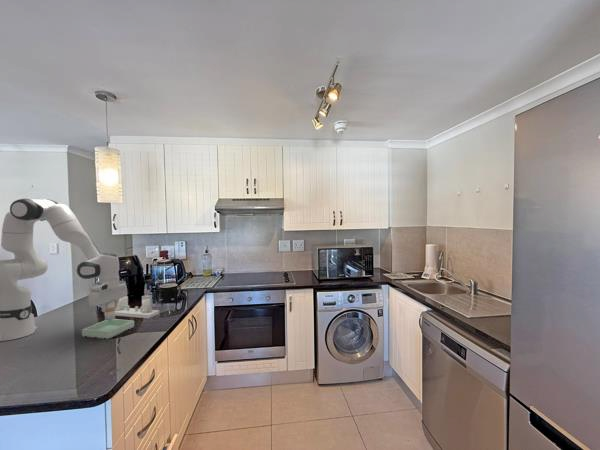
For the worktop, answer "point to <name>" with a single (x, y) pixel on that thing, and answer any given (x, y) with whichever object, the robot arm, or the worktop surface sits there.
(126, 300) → the medicine bottle
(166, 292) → the mug
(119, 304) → the fuse left
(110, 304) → the fuse marked
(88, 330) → the tray
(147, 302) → the fuse right
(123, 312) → the holder
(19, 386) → the worktop surface
